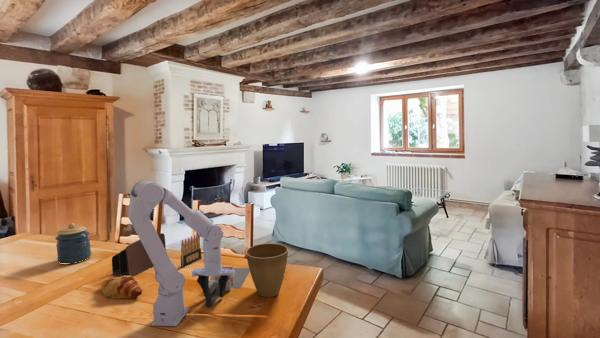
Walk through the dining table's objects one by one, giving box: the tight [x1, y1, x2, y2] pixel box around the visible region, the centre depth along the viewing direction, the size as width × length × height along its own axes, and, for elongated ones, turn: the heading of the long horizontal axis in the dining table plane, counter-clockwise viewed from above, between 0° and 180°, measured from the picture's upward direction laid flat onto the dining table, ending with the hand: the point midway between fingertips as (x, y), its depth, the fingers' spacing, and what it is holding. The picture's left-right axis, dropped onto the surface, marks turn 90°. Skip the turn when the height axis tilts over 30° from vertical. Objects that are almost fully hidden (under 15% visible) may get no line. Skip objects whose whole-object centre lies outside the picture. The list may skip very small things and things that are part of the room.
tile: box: [215, 264, 234, 285], centre depth 121 cm, size 2×7×7 cm, turn 85°
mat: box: [208, 267, 250, 290], centre depth 127 cm, size 18×14×1 cm
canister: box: [55, 222, 92, 264], centre depth 149 cm, size 13×13×18 cm
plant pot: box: [245, 242, 289, 298], centre depth 114 cm, size 15×15×16 cm
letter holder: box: [111, 232, 167, 278], centre depth 139 cm, size 10×20×14 cm, turn 157°
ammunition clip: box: [180, 233, 202, 268], centre depth 143 cm, size 11×2×12 cm, turn 153°
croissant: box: [100, 275, 143, 300], centre depth 116 cm, size 21×10×8 cm
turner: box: [204, 279, 232, 308], centre depth 111 cm, size 12×8×5 cm
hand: (214, 295), depth 110 cm, fingers open, 5 cm apart
